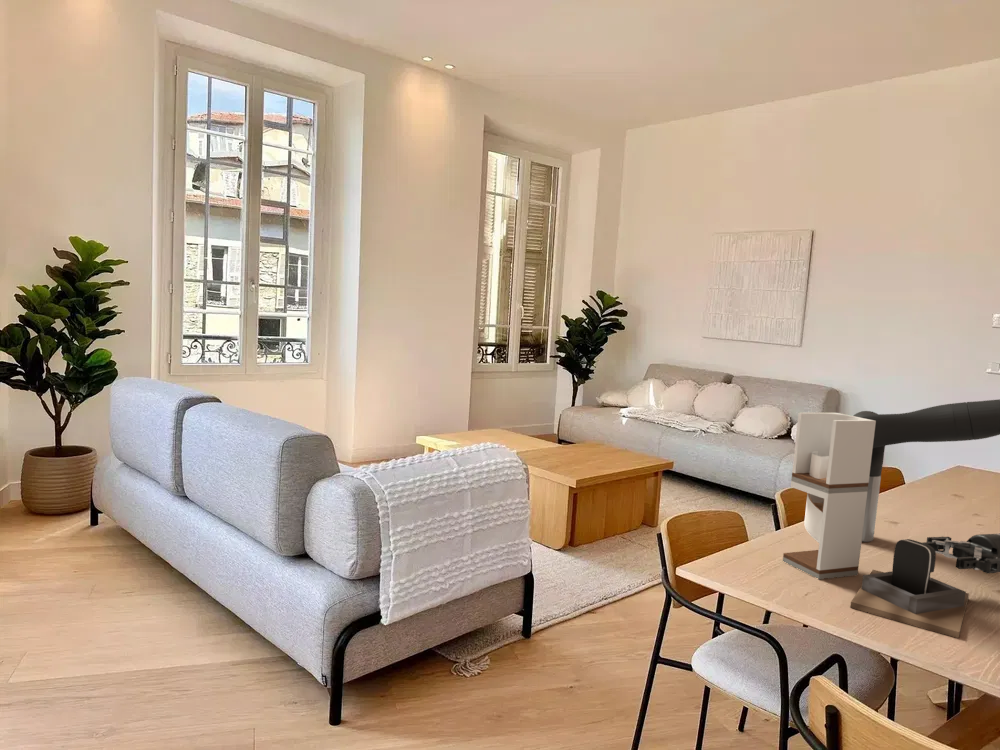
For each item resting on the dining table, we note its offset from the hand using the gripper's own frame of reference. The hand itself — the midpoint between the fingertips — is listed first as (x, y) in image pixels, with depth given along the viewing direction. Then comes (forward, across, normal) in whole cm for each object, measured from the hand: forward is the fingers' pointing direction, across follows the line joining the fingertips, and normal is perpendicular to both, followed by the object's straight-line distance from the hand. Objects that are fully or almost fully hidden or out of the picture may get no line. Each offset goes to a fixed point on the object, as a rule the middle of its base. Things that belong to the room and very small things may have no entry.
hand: (938, 555), depth 143 cm
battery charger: (+6, 0, +9) cm, 10 cm away
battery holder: (+6, 0, +10) cm, 11 cm away
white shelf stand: (+11, -19, +10) cm, 25 cm away
